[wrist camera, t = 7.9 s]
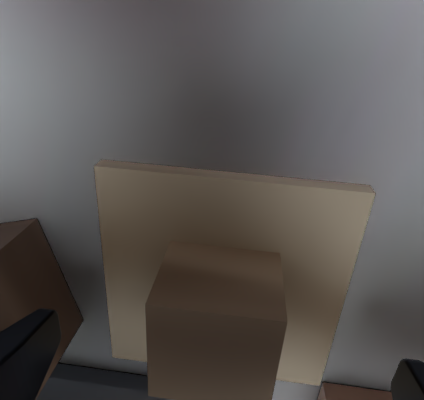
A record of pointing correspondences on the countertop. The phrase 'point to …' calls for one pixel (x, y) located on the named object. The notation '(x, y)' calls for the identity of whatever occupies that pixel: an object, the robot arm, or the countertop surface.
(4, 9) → the countertop surface
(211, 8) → the countertop surface
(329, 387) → the pot
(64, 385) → the grey open square bin
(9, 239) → the walnut block
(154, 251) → the lid
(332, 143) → the countertop surface
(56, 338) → the robot arm
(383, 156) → the countertop surface
